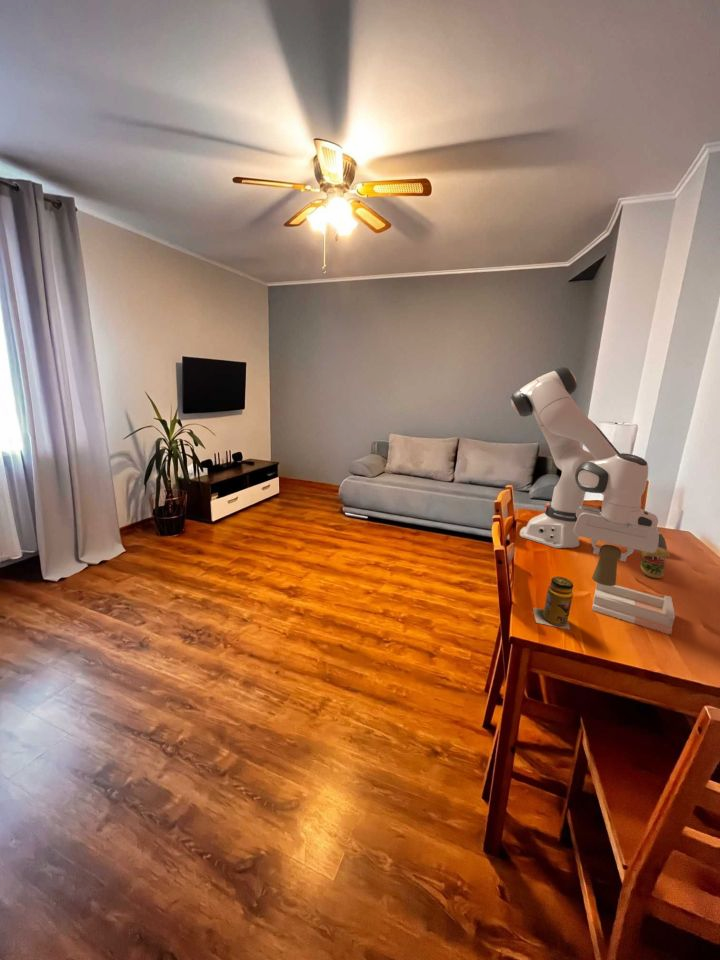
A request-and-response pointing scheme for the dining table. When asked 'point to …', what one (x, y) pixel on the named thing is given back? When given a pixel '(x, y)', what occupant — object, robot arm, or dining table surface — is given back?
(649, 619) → the white tray
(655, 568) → the hamburger
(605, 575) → the cork
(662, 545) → the mineral rock
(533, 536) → the robot arm
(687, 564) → the dining table surface
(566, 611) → the condiment
